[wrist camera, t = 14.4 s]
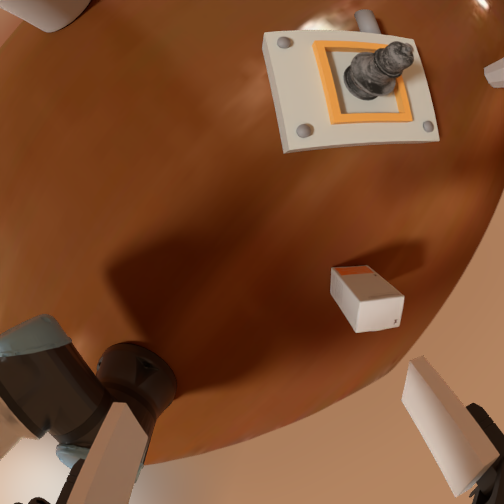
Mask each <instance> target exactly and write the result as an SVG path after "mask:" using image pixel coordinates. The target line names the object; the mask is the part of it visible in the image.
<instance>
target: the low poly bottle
mask: <svg viewBox="0 0 504 504" xmlns="http://www.w3.org/2000/svg"><path fill="white" fill-rule="evenodd" d="M484 75H485V77H486V79H487V81H488V82H489V84H491V85H492V86H493V87H494V88H500V87H504V58H502V59H500V60H498V61H496V62H494V63H492V64H491V65H489V66H487V67H485V68H484Z"/></svg>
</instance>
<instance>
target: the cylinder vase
mask: <svg viewBox="0 0 504 504" xmlns="http://www.w3.org/2000/svg"><path fill="white" fill-rule="evenodd" d="M90 1H91V0H0V8H2V9H4V10H6V11H8V12H10V13H12V14H14V15H16V16H17V17H19V18H21V19H23V20H25V21H27V22H28V23H30V24H32V25H34V26H36V27H37V28H39V29H41V30H43V31H45V32H54V31H57V30H59V29H62V28H63V27H65V26H67V25H68V24H70V23H71V22H72V21H73V20H75V19H76V18H77V17H78V16H79V15H80V14H81V13H82V12H83V11H84V9H85V8H86V7H87V6H88V4H89V2H90Z"/></svg>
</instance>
